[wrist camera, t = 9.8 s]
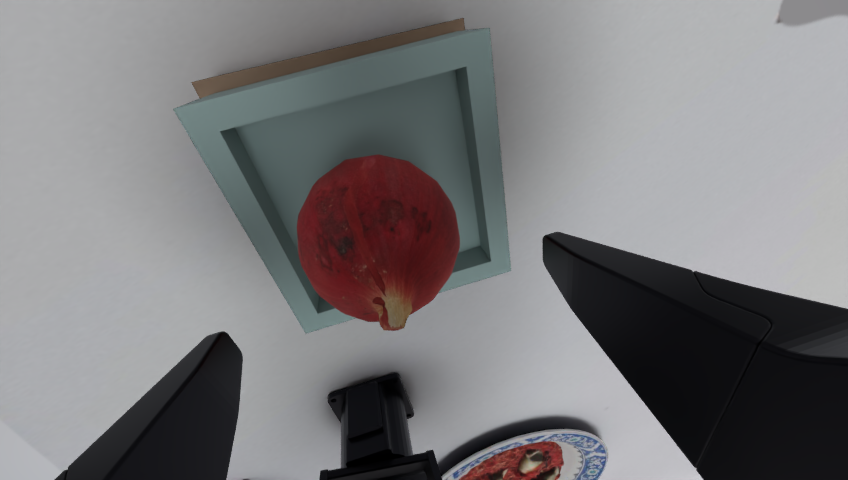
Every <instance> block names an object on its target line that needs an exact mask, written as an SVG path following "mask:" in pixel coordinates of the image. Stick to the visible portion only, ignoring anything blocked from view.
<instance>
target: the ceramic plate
mask: <svg viewBox="0 0 848 480" xmlns="http://www.w3.org/2000/svg"><path fill="white" fill-rule="evenodd" d="M607 461H608V450H607V447H606V445H605V444H604V442H603V441H602V440H601V439H600V438H599V437H597V436H596V435H594V434H592V433H589V432H586V431H581V430H574V429H552V430H544V431H538V432H532V433H528V434H524V435H520V436H516V437H513V438H510V439H508V440H505V441H502V442H499V443H496V444H494V445H492V446H490V447H488V448H485V449H483V450H481V451H479V452H477V453H475V454H473V455H471V456H470V457H468V458H466V459H465V460H463V461H461V462H460V463H458V464H457V465H456V466H454V467H453V468H451V469H450V470H448V471H447V472H446V473H445V474H444V475H443V476H442V480H598V479H599V478H600V476H601V474H602V473H603V471H604V470H605V467H606V464H607Z"/></svg>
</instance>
